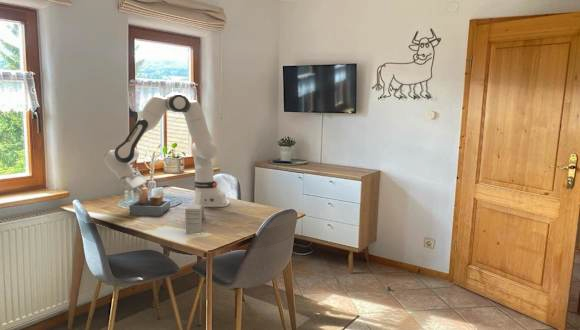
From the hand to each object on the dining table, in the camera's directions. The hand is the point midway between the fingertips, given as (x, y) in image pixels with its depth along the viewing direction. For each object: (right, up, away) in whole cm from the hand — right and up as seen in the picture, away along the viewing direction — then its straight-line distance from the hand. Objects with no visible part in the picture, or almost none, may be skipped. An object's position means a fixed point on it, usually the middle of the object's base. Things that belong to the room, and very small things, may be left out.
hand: (144, 192), depth 250 cm
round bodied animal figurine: (+31, -14, -12) cm, 36 cm away
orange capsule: (-1, -5, +1) cm, 5 cm away
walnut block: (+6, -10, +1) cm, 12 cm away
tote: (+3, -11, +2) cm, 11 cm away
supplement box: (+34, -17, -31) cm, 49 cm away
